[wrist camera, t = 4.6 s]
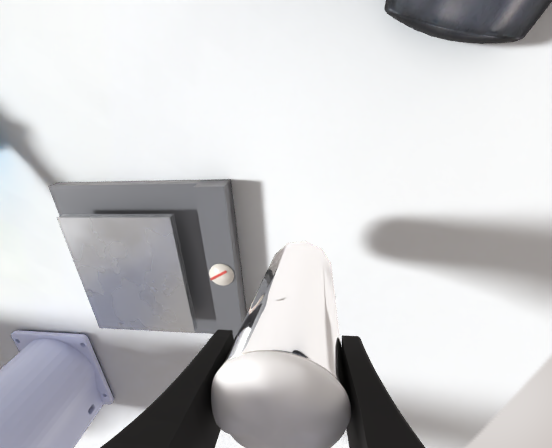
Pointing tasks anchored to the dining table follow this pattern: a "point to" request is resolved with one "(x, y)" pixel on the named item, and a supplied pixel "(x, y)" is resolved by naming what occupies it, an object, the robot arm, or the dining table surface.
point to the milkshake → (286, 360)
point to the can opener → (469, 18)
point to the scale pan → (131, 270)
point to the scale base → (180, 235)
